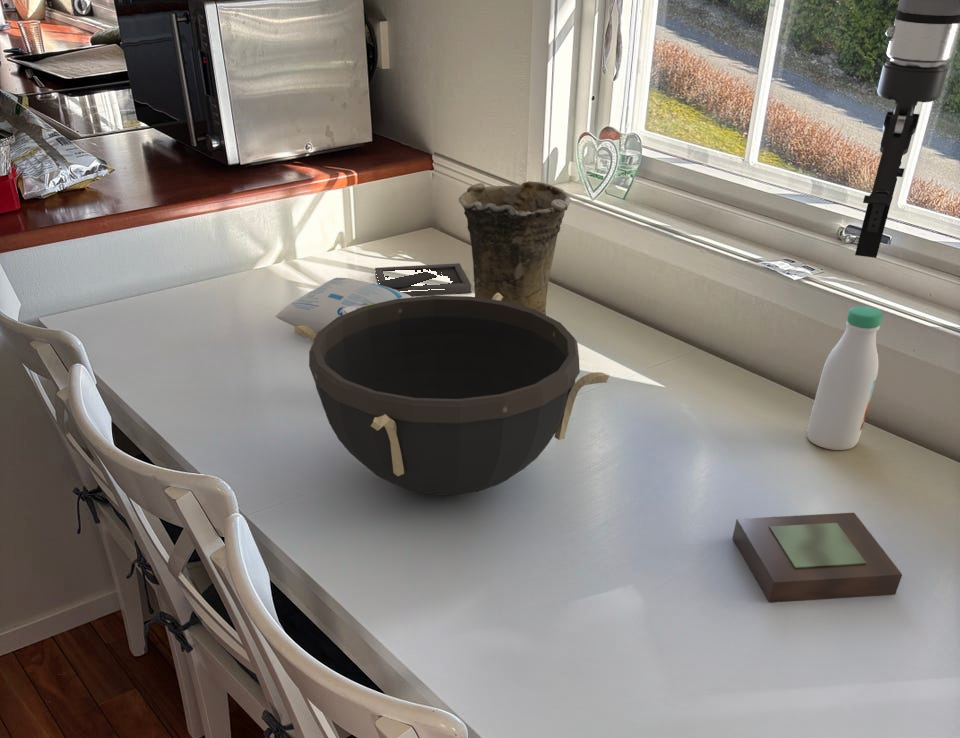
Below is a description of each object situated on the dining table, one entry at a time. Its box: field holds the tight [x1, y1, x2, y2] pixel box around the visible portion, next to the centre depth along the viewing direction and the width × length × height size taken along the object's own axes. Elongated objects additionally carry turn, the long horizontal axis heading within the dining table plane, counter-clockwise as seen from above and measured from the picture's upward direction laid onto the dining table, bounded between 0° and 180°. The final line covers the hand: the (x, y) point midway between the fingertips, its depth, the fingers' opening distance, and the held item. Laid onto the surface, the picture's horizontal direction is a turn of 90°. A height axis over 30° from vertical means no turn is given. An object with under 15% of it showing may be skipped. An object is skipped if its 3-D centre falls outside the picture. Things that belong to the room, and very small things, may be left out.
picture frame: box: [374, 262, 472, 297], centre depth 196 cm, size 13×2×18 cm
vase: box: [458, 180, 572, 315], centre depth 163 cm, size 18×18×27 cm
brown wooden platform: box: [732, 512, 903, 603], centre depth 120 cm, size 16×14×3 cm
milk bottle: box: [806, 305, 884, 451], centre depth 140 cm, size 8×8×20 cm
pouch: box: [274, 277, 414, 334], centre depth 175 cm, size 8×19×20 cm
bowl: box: [293, 293, 610, 496], centre depth 130 cm, size 35×35×20 cm
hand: (870, 241), depth 130 cm, fingers open, 13 cm apart
